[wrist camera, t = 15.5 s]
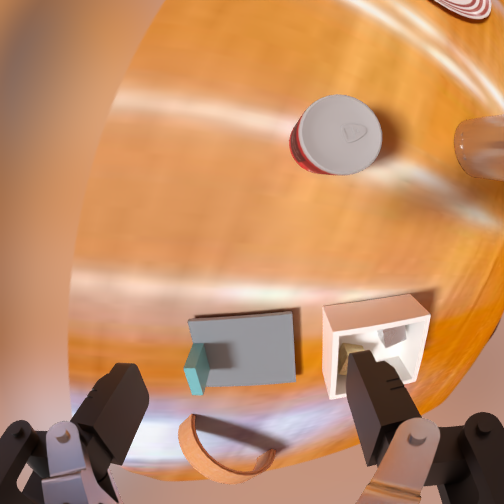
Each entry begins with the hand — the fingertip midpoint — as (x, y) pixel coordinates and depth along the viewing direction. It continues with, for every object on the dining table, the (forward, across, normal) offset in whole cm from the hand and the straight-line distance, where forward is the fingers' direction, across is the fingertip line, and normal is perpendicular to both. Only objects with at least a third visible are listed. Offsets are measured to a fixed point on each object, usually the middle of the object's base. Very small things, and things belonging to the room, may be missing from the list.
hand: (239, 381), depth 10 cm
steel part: (+27, -18, +16) cm, 36 cm away
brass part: (+27, -12, +20) cm, 36 cm away
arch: (+28, +10, +42) cm, 52 cm away
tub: (+28, -15, +18) cm, 37 cm away
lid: (+28, +4, +18) cm, 34 cm away
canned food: (+28, -9, -10) cm, 31 cm away
